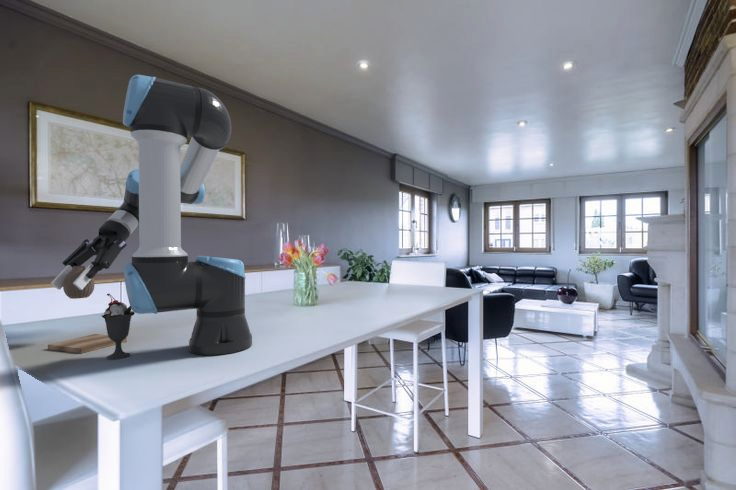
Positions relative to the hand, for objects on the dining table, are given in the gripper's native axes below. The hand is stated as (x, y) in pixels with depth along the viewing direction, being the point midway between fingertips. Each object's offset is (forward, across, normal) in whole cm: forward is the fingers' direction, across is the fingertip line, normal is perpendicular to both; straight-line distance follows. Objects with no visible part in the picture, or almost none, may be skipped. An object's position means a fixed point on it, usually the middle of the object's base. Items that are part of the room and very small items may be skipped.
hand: (66, 286), depth 102 cm
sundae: (+16, -23, -7) cm, 29 cm away
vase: (0, 0, -5) cm, 5 cm away
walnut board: (+11, -6, -11) cm, 17 cm away
